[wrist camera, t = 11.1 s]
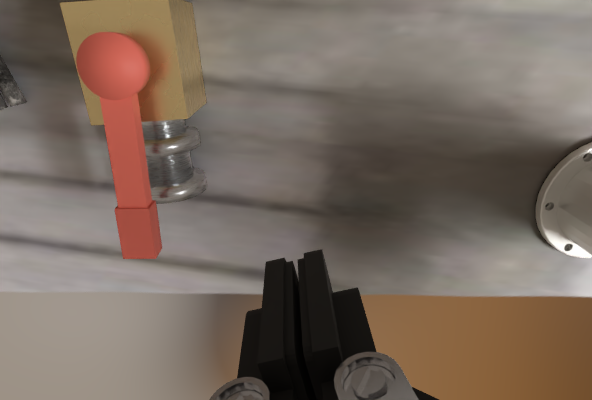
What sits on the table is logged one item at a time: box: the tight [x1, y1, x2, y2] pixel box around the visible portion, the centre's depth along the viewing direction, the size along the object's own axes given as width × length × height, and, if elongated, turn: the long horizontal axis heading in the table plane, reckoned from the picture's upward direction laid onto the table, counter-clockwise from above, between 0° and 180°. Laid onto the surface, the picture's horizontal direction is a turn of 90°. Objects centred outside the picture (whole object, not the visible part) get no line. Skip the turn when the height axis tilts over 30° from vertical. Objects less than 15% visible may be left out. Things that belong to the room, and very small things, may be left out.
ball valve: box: [60, 0, 207, 204], centre depth 31 cm, size 7×22×9 cm, turn 4°
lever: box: [76, 32, 162, 259], centre depth 28 cm, size 16×4×2 cm, turn 0°
